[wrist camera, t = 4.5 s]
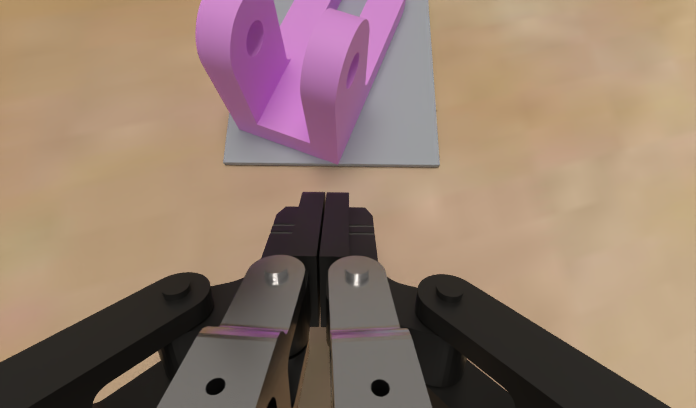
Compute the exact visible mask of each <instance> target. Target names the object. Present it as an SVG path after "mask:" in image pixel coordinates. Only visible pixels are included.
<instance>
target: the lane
mask: <svg viewBox="0 0 696 408" xmlns="http://www.w3.org/2000/svg"><path fill="white" fill-rule="evenodd" d="M293 1H294V0H274V4H275V8H276V13H277V17H278V22H279V26H280V25H281V23H282V21H283V20H284V18H285V16H286V14H287V12H288V11H289V9H290V7H291V5H292V3H293ZM366 2H367V0H341V2H340V4H339V6H338V8H337V10H339V11H342V12H345V13H348V14H351V15H355V16H358V17H360V14H361V12H362V10H363V8H364V6H365V4H366ZM223 163H224V164H225V165H288V166H373V167H439V165H440V162H439V148H438V134H437V119H436V105H435V91H434V77H433V62H432V48H431V34H430V20H429V6H428V0H406V1H405V7H404V11H403V14H402V17H401V19H400V21H399V24H398V26H397V28H396V31H395V33H394V35H393V38H392V40H391V42H390V45H389V47H388V49H387V52H386V54H385V56H384V59H383V61H382V63H381V66H380V68H379V70H378V73H377V75H376V77H375V80H374V82H373V84H372V87H371V89H370V91H369V94H368V96H367V98H366V101H365V103H364V105H363V108H362V110H361V112H360V115H359V117H358V119H357V122H356V124H355V126H354V129H353V131H352V133H351V136H350V138H349V140H348V143H347V145H346V147H345V150H344V152H343V154H342V157H341V159H340V161H339V164H338V165H337V164H334V163H331V162H329V161H326V160H323V159H320V158H317V157H315V156H312V155H309V154H306V153H303V152H301V151H298V150H295V149H292V148H290V147H287V146H284V145H281V144H278V143H276V142H273V141H270V140H267V139H265V138H262V137H259V136H256V135H253V134H251V133H248V132H245V131H242V130H240V129H239V128H238V127H237V125H236V123H235V121H234V120H233V118H232V116H231V114H230V112H229V120H228V128H227V136H226V144H225V153H224V161H223Z"/></svg>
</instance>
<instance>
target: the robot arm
mask: <svg viewBox="0 0 696 408" xmlns="http://www.w3.org/2000/svg"><path fill="white" fill-rule="evenodd" d="M320 307H321V327H326V333H327V344H328V346H329V357H330V385H331V408H671V407H669V406H668V405H666V404H664V403H663V402H661V401H660V400H658V399H656V398H655V397H653V396H651V395H650V394H648V393H647V392H645V391H643V390H642V389H640V388H639V387H637V386H635V385H634V384H632V383H630V382H629V381H627V380H626V379H624V378H622V377H621V376H619V375H618V374H616V373H614V372H613V371H611V370H609V369H608V368H606V367H605V366H603V365H601V364H600V363H598V362H597V361H595V360H593V359H592V358H590V357H588V356H587V355H585V354H584V353H582V352H580V351H579V350H577V349H576V348H574V347H572V346H571V345H569V344H567V343H566V342H564V341H563V340H561V339H559V338H558V337H556V336H554V335H553V334H551V333H550V332H548V331H546V330H545V329H543V328H542V327H540V326H538V325H537V324H535V323H533V322H532V321H530V320H529V319H527V318H525V317H524V316H522V315H521V314H519V313H517V312H516V311H514V310H512V309H511V308H509V307H508V306H506V305H504V304H503V303H501V302H500V301H498V300H496V299H495V298H493V297H491V296H490V295H488V294H487V293H485V292H483V291H482V290H480V289H479V288H477V287H475V286H474V285H472V284H470V283H469V282H467V281H465V280H463V279H461V278H459V277H456V276H452V275H445V274H437V275H432V276H429V277H426V278H425V279H423V280H422V281H421V282H420V284H419V286H418V288H416V287H412V286H407V285H404V284H400V283H397V282H395V281H393V280H391V279H389V278H388V277H387V276H386V272H385V269H384V268H383V266H382V265H381V264H380V263H379V262H378V258H377V250H376V241H375V235H374V225H373V216H372V215H371V214H370V213H369V211H368V210H367V209H366V208H355V207H349V193H334V192H327V194H326V197H325V192H303V193H302V196H301V200H300V204H299V207H285V208H284V209H283V210H281V211H280V212H279V213H278V214H277V215H276V218H275V221H274V224H273V226H272V229H271V233H270V235H269V238H268V241H267V243H266V246H265V249H264V252H263V255H262V258H261V259H260V260H258V261H256V262H255V263H254V264H252V265H251V266H250V268H249V269H248V271H247V273H246V275H245V277H244V278H242V279H239V280H237V281H234V282H230V283H225V284H220V285H215V286H210V282H209V280H208V279H207V278H206V277H205V276H203V275H201V274H198V273H192V272H186V273H178V274H174V275H170V276H168V277H165V278H163V279H161V280H159V281H157V282H155V283H153V284H151V285H149V286H147V287H145V288H143V289H142V290H140V291H138V292H136V293H134V294H132V295H130V296H128V297H126V298H124V299H122V300H120V301H118V302H116V303H114V304H113V305H111V306H109V307H107V308H105V309H103V310H101V311H99V312H97V313H95V314H93V315H91V316H89V317H87V318H85V319H83V320H82V321H80V322H78V323H76V324H74V325H72V326H70V327H68V328H66V329H64V330H62V331H60V332H58V333H56V334H54V335H53V336H51V337H49V338H47V339H45V340H43V341H41V342H39V343H37V344H35V345H33V346H31V347H29V348H27V349H25V350H24V351H22V352H20V353H18V354H16V355H14V356H12V357H10V358H8V359H6V360H4V361H2V362H0V408H298V404H299V400H300V395H301V390H302V385H303V380H304V375H305V370H306V365H307V361H308V356H309V328H310V327H319V318H320ZM157 351H158V353H159V356H160V359H161V361H160V362H158V363H157V364H155V365H154V366H152V367H151V368H149V369H148V370H146V371H145V372H143V373H142V374H140V375H139V376H138V377H136V378H135V379H133V380H132V381H130V382H129V383H127V384H126V385H124V386H123V387H121V388H120V389H118V390H117V391H115V392H114V393H112V394H111V395H109V396H108V397H106V398H105V399H103V400H102V401H100V402H97V403H94V404H93V401H94V398H95V396H96V395H97V394H98V392H99V391H100V390H101V389H102V388H103V387H104V386H105V385H107V384H108V383H109V382H111V381H112V380H114V379H115V378H117V377H119V376H120V375H122V374H123V373H125V372H126V371H128V370H129V369H131V368H132V367H134V366H135V365H137V364H138V363H140V362H142V361H143V360H145V359H146V358H148V357H149V356H151V355H152V354H154V353H155V352H157ZM467 358H468V359H469V360H470V361H471V362H473V363H474V364H475V365H476V366H478V367H479V368H480V369H482V370H483V371H484V372H485V373H487V374H488V375H489V376H490V377H492V378H493V379H494V380H495V381H497V382H498V383H499V384H500V385H502V386H503V387H504V388H505V389H506V390H507V391H508V392H507V391H506V390H504V389H503V388H502V387H501V386H499V385H498V384H497V383H496V382H494V381H493V380H492V379H491V378H489V377H488V376H487V375H485V374H484V373H483V372H482V371H480V370H479V369H478V368H477V367H475V366H474V365H473V364H472V363H470V362H469V361H468V360H467Z"/></svg>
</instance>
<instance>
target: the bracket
mask: <svg viewBox="0 0 696 408" xmlns="http://www.w3.org/2000/svg"><path fill="white" fill-rule="evenodd" d="M405 1H406V0H367V2H366V4H365V6H364V8H363V10H362V12H361V14H360V17H358V16H355V15H351V14H348V13H345V12H342V11H339V10H337V8H338V6H339V4H340V2H341V0H294V1H293V3H292V5H291V7H290V9H289V11H288V12H287V14H286V16H285V18H284V20H283V21H282V23H281V25H280V26H279V22H278V17H277V13H276V8H275V4H274V0H202V1H201V4H200V7H199V11H198V15H197V21H196V46H197V51H198V55H199V58H200V61H201V63H202V65H203V66H204V68H205V70H206V72H207V74H208V75H209V77H210V79H211V81H212V82H213V84H214V86H215V88H216V89H217V91H218V93H219V95H220V97H221V98H222V100H223V102H224V104H225V105H226V107H227V109H228V111H229V112H230V114H231V116H232V118H233V120H234V121H235V123H236V125H237V127H238V128H239V129H240V130H242V131H245V132H248V133H251V134H253V135H256V136H259V137H262V138H265V139H267V140H270V141H273V142H276V143H278V144H281V145H284V146H287V147H290V148H292V149H295V150H298V151H301V152H303V153H306V154H309V155H312V156H315V157H317V158H320V159H323V160H326V161H329V162H331V163H334V164H337V165H338V164H339V161H340V159H341V157H342V154H343V152H344V150H345V147H346V145H347V143H348V140H349V138H350V136H351V133H352V131H353V129H354V126H355V124H356V122H357V119H358V117H359V115H360V112H361V110H362V108H363V105H364V103H365V101H366V98H367V96H368V94H369V91H370V89H371V87H372V84H373V82H374V80H375V77H376V75H377V73H378V70H379V68H380V66H381V63H382V61H383V59H384V56H385V54H386V52H387V49H388V47H389V45H390V42H391V40H392V38H393V35H394V33H395V31H396V28H397V26H398V24H399V21H400V19H401V17H402V14H403V11H404V7H405Z"/></svg>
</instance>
